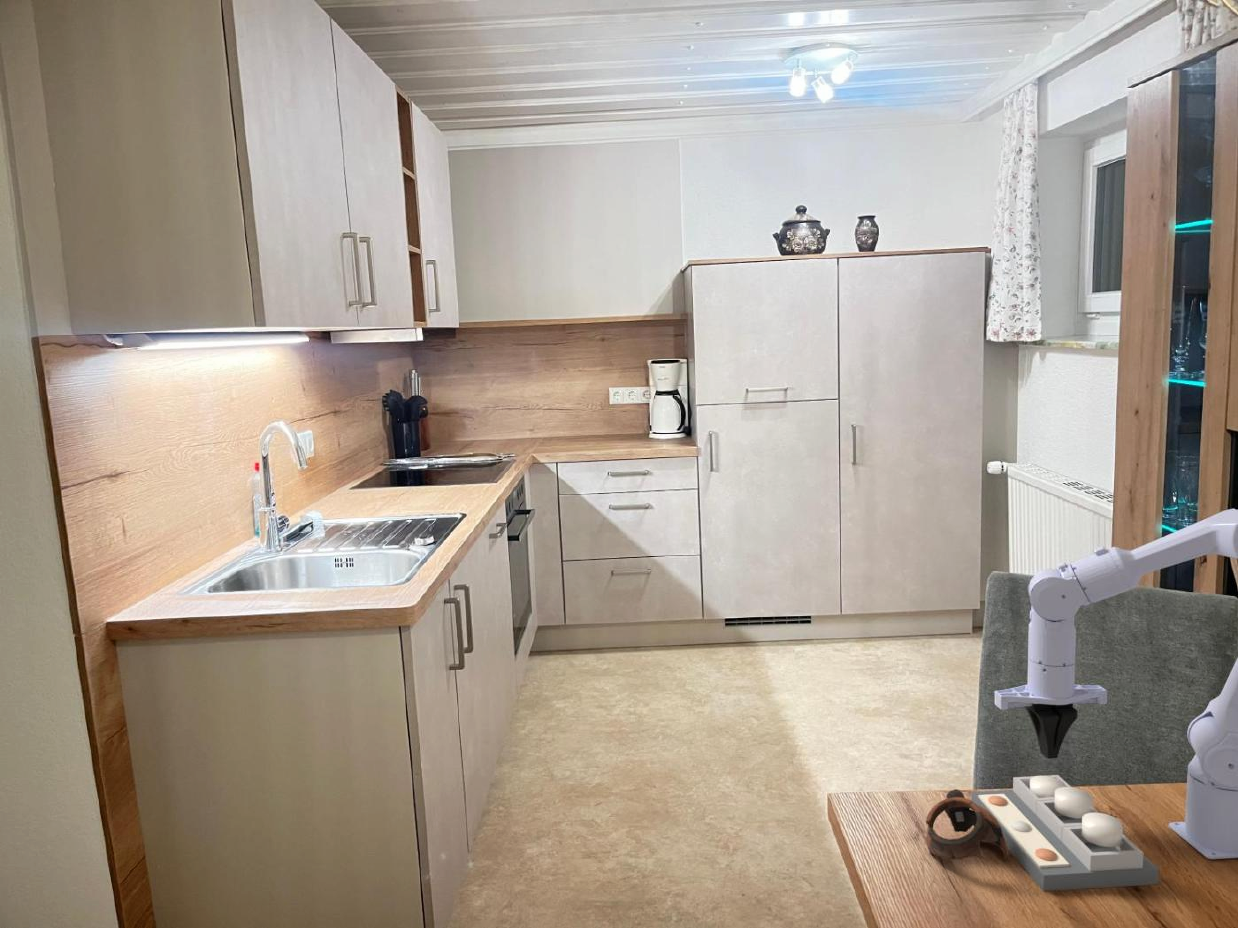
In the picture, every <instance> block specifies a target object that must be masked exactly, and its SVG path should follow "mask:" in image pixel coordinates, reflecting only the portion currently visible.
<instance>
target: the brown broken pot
mask: <svg viewBox="0 0 1238 928" xmlns="http://www.w3.org/2000/svg"><path fill="white" fill-rule="evenodd" d="M943 812H945V814H946V815H947V817H948V819H949V820H950V822H951V823H950V824H951V826H952V827H953V831H954V832H955V833H959V832H960V833H961V832H963V833H967V832H968V830H970V829H971V828H972V827H973V828H972V830H971V831H969V833H967V834H966V835H963V836H961V837H958V838H945V837H942V836H940V835H938V833H936V831H935V830H934V823H935V822H936V819H937V818H938V817H939V816H940V815H941V814H942V813H943ZM925 823H926V824H927V828H926V837H925V841H926V847H927V850H928V852H929V854H930V855H932V856H933V855H935V856H938V857H940V858H942V859H947V860H950V861H953V860H955V859H957V860H963V859H966V858H970V857H976V858H978V859H983V858H984V857H983V854H982V849H981V844H980V841H981V842H983V843H987V844H988V843H992V844H994V845H996V846H998V847H999V848H1000V849H1001V851H1002V853H1003V857H1004V860H1005V861H1009V859H1010V858H1009V853H1008V851H1009V849H1008V848H1007V844H1006V841H1005V839H1004V837H1003V834H1002V830H1001V827H1000V825H999V823H998V821H997V820H996V819H995V818H994V817H993V815H992V814H991V813H990V812H988V811H987V810H985V809H984V808H982V807H980V806H978V805H976V804H975V803H974V802H972V801H971V799H969V798H966V797H965V796H964V793H963V792H962V791H961V790H960V789H956V788H955V789H952V790H949V792H947V794H946V798H945V799H943V800H940V801H939V802H937V803H936V804H935V805H934V806H933V807H932V808H930V811H929V812H928V814H927V816H926V820H925Z"/></svg>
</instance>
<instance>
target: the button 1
mask: <svg viewBox="0 0 1238 928" xmlns="http://www.w3.org/2000/svg"><path fill="white" fill-rule="evenodd" d="M1061 787H1065V784H1064V783H1063V782H1062V781H1061V780H1059V779H1056V778H1053V777H1049V775H1034V777H1032V778H1031V779H1030V790H1031V791H1032V792H1033V793H1034V794H1035V795H1036V796H1037V797H1038V798H1046V797H1055V790H1056V789H1058V788H1061Z"/></svg>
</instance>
